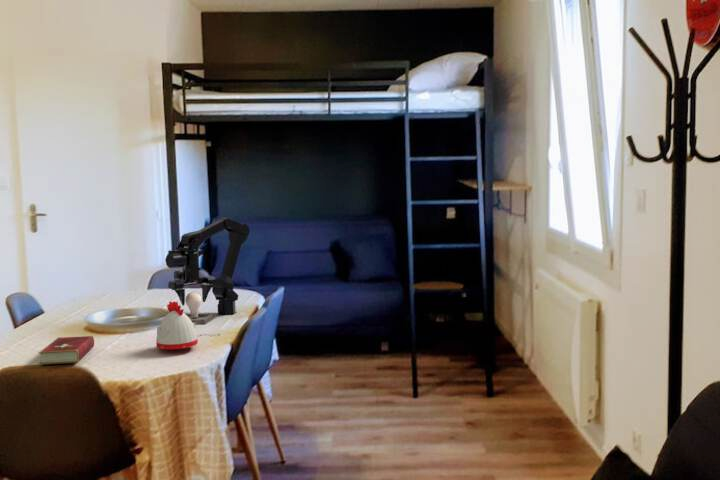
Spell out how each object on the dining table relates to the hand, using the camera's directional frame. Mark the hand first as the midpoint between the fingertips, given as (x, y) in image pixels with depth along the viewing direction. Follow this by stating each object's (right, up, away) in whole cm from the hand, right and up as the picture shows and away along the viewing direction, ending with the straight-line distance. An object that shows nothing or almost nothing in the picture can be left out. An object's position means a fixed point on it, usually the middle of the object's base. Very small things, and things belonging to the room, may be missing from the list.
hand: (193, 303), depth 292 cm
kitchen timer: (+3, -11, -38) cm, 40 cm away
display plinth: (0, -7, +1) cm, 7 cm away
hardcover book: (-31, -13, -48) cm, 59 cm away
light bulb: (0, -6, +1) cm, 6 cm away
